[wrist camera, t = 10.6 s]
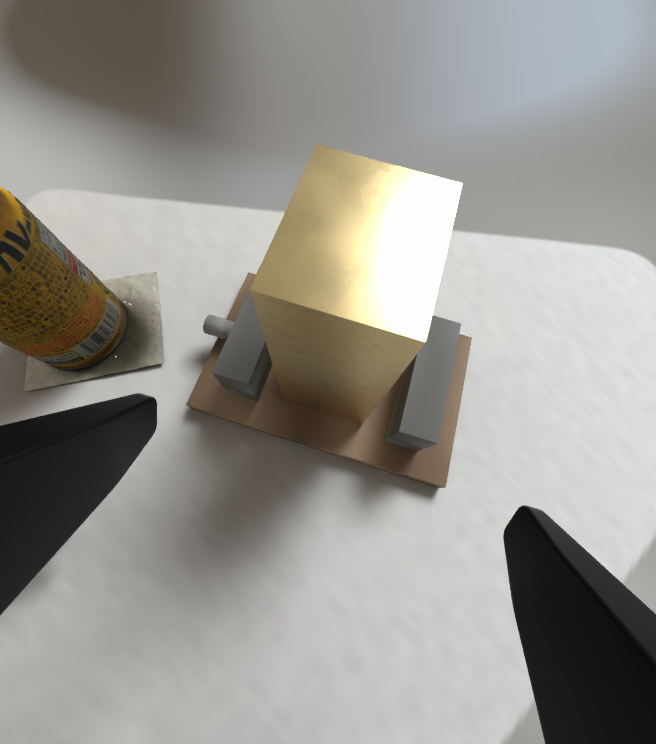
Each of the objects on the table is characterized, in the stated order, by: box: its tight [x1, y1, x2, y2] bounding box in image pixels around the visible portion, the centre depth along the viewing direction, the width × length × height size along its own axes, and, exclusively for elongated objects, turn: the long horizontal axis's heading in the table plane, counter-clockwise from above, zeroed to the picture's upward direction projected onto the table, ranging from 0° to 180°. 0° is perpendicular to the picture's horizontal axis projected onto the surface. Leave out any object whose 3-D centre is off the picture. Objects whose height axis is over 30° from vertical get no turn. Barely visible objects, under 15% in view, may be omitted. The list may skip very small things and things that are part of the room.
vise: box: [187, 265, 472, 488], centre depth 20 cm, size 16×10×4 cm, turn 73°
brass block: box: [250, 144, 462, 425], centre depth 16 cm, size 6×5×12 cm
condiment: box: [0, 187, 164, 392], centre depth 17 cm, size 7×8×12 cm
